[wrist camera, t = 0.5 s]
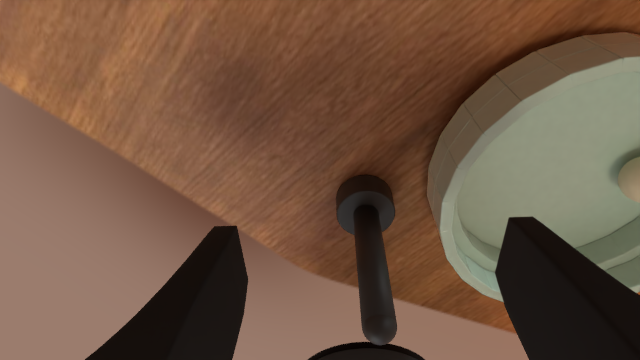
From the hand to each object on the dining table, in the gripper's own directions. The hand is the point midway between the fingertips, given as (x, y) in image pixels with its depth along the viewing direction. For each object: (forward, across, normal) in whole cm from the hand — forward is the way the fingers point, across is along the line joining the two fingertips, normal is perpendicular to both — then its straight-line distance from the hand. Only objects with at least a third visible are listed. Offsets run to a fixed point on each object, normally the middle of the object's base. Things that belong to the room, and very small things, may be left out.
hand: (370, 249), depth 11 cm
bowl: (+11, -11, +4) cm, 16 cm away
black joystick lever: (+11, -1, +6) cm, 13 cm away
